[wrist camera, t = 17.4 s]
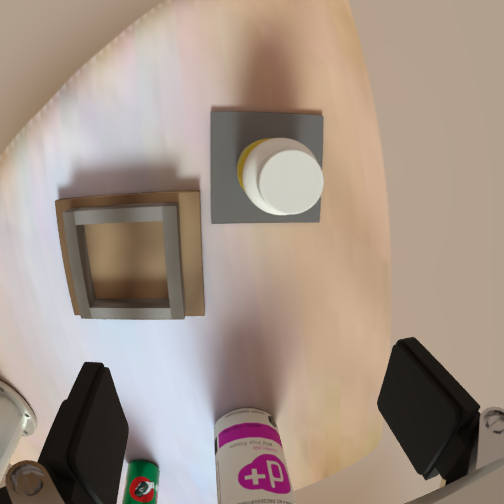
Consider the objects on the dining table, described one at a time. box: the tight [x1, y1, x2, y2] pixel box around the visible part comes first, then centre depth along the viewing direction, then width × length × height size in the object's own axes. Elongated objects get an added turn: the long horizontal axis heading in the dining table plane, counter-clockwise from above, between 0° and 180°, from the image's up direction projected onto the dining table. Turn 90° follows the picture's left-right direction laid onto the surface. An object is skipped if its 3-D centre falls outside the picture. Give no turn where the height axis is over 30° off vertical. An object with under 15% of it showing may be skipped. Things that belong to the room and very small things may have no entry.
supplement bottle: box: [236, 138, 324, 215], centre depth 23 cm, size 5×5×10 cm
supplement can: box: [214, 408, 296, 504], centre depth 31 cm, size 8×8×15 cm
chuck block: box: [55, 190, 205, 320], centre depth 28 cm, size 14×12×3 cm
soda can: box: [122, 460, 160, 504], centre depth 34 cm, size 5×5×12 cm
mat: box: [211, 112, 323, 224], centre depth 28 cm, size 10×10×1 cm
